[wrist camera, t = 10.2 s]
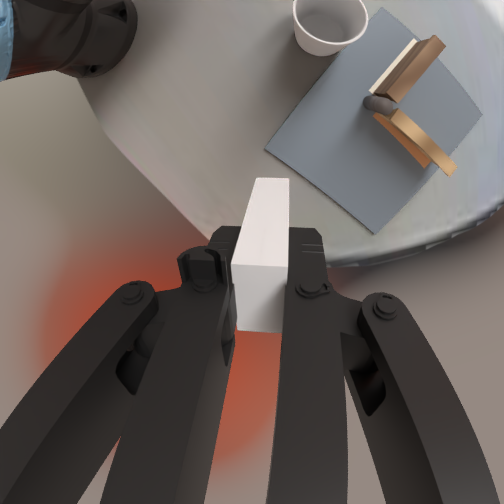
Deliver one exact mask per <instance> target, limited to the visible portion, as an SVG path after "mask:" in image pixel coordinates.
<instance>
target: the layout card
mask: <svg viewBox="0 0 504 504" xmlns="http://www.w3.org/2000/svg"><path fill="white" fill-rule="evenodd" d="M419 41H421V40H420V39H419V38H418V37H416V36H415V35H414V34H413V33H412V32H411V31H410V30H409V29H408V28H407V27H406V26H405V25H403V24H402V23H401V22H400V21H399V20H398V19H396V18H395V17H394V16H393V15H392V14H390V13H389V12H388V11H387V10H385V9H384V8H383V7H381V8H380V9H379V11H378V12H377V13H376V14H375V15H374V16H373V17H372V18H371V19H370V20H369V21H368V25H367V28H366V31H365V32H364V34H363V35H362V36H361V37H360V38H359V39H358V40H356V41H354V42H353V43H351V44H349V45H348V46H346V47H345V48H344V50H343V51H342V52H341V53H340V54H339V55H338V56H337V58H336V59H335V60H334V61H333V62H332V64H331V65H330V66H329V67H328V68H327V70H326V71H325V72H324V73H323V74H322V76H321V77H320V78H319V79H318V80H317V82H316V83H315V84H314V85H313V87H312V88H311V89H310V90H309V91H308V93H307V94H306V95H305V96H304V98H303V99H302V100H301V101H300V103H299V104H298V105H297V106H296V108H295V109H294V110H293V112H292V113H291V114H290V115H289V117H288V118H287V119H286V121H285V122H284V123H283V124H282V126H281V127H280V128H279V130H278V131H277V132H276V134H275V135H274V136H273V138H272V139H271V140H270V141H269V143H268V144H267V145H266V147H265V149H266V150H267V151H269V152H270V153H272V154H273V155H275V156H276V157H277V158H279V159H280V160H282V161H283V162H284V163H286V164H287V165H289V166H290V167H291V168H293V169H294V170H295V171H297V172H298V173H300V174H301V175H302V176H304V177H305V178H306V179H308V180H309V181H310V182H311V183H313V184H314V185H315V186H317V187H318V188H319V189H321V190H322V191H323V192H324V193H326V194H327V195H328V196H330V197H331V198H332V199H333V200H335V201H336V202H337V203H338V204H340V205H341V206H342V207H343V208H344V209H346V210H347V211H348V212H349V213H351V214H352V215H353V216H354V217H355V218H356V219H358V220H359V221H360V222H361V223H362V224H364V225H365V226H366V227H367V228H368V229H369V230H371V231H372V232H373V233H374V234H375V235H376V234H377V233H378V232H379V231H380V230H381V229H382V228H383V227H384V226H385V225H386V224H387V223H388V222H389V221H390V220H391V219H392V218H393V217H394V216H395V215H396V214H397V213H398V212H399V211H400V210H401V208H402V207H403V206H404V205H405V204H406V203H407V202H408V201H409V200H410V199H411V198H412V197H413V196H414V195H415V194H416V193H417V192H418V190H419V189H420V188H421V187H422V186H423V185H424V184H425V183H426V182H427V181H428V179H429V178H430V177H431V176H432V175H433V174H434V173H435V172H436V171H437V169H438V168H439V167H438V166H437V165H436V164H434V163H433V162H431V161H430V160H429V159H428V158H427V157H426V156H425V155H424V154H423V153H422V152H421V151H420V150H419V149H418V148H417V147H416V146H415V145H414V144H413V143H411V142H410V141H409V140H408V139H407V138H406V137H405V136H404V135H403V134H401V133H400V132H399V131H398V130H397V129H396V128H395V127H393V126H392V125H391V124H390V123H389V122H387V121H386V120H385V119H384V118H383V117H381V116H380V115H379V114H378V113H377V112H374V111H371V110H368V109H366V108H365V107H364V105H363V99H364V98H365V97H366V96H376V95H375V94H374V93H373V92H374V91H375V90H376V89H377V87H378V86H379V85H380V84H381V83H382V81H383V80H384V79H385V78H386V77H387V76H388V74H389V73H390V72H391V71H392V70H393V69H394V67H395V66H396V65H397V64H398V63H399V62H400V61H401V59H402V58H403V57H404V56H405V55H406V54H407V52H408V51H409V50H410V49H411V48H412V47H413V45H414V44H415V43H416V42H419ZM391 102H392V104H393V109H394V110H395V109H396V108H399V109H400V110H401V111H402V112H403V113H404V114H406V115H407V116H408V117H409V118H410V119H411V120H412V121H413V122H414V123H415V124H417V125H418V126H419V127H420V128H421V129H422V130H423V131H424V132H425V133H426V134H427V135H428V136H429V137H430V138H431V139H432V140H433V141H434V142H435V143H436V144H437V145H438V146H439V147H440V148H441V149H442V150H443V151H444V153H445V154H446V155H447V156H448V157H449V156H450V154H451V153H452V152H453V151H454V150H455V148H456V147H457V146H458V145H459V144H460V142H461V141H462V140H463V139H464V138H465V136H466V135H467V134H468V133H469V131H470V130H471V129H472V128H473V126H474V125H475V124H476V122H477V121H478V120H479V119H480V117H481V116H482V113H481V112H480V110H479V109H478V107H477V106H476V104H475V103H474V102H473V100H472V99H471V98H470V96H469V95H468V94H467V92H466V91H465V90H464V88H463V87H462V86H461V85H460V83H459V82H458V81H457V80H456V78H455V77H454V76H453V75H452V74H451V72H450V71H449V70H448V69H447V68H446V67H445V65H444V64H443V63H442V62H441V61H440V60H439V59H438V58H436V59H435V60H434V61H433V63H432V64H431V65H430V66H429V67H428V69H427V70H426V71H425V72H424V73H423V74H422V76H421V77H420V78H419V79H418V80H417V82H416V83H415V84H414V85H413V86H412V88H411V89H410V90H409V91H408V92H407V93H406V95H405V96H404V97H403V98H402V99H401V100H400V102H399V103H395V102H394V101H391Z"/></svg>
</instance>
